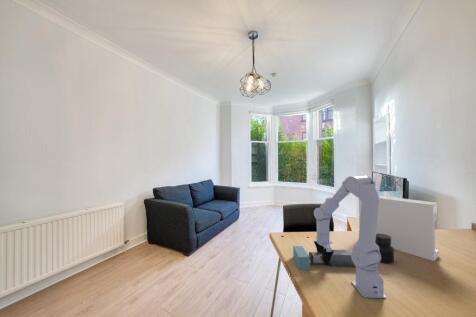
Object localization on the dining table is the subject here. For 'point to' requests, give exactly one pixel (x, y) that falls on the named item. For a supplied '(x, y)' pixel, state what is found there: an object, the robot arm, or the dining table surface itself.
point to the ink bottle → (385, 248)
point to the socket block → (301, 258)
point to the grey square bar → (316, 257)
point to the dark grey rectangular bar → (341, 259)
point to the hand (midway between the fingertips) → (323, 260)
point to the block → (408, 225)
